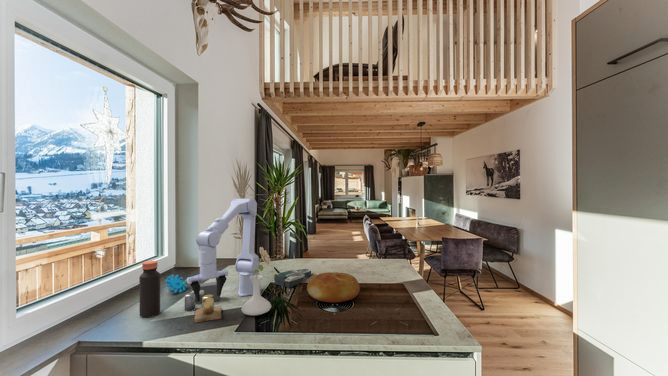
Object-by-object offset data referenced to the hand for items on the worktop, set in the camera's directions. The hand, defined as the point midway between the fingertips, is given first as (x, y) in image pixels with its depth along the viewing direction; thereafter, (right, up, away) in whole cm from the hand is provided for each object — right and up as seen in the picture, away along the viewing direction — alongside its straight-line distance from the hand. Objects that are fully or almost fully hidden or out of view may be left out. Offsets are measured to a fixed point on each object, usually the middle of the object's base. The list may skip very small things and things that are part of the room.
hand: (208, 298), depth 109 cm
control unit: (-7, -7, +14) cm, 17 cm away
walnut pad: (0, -7, 0) cm, 7 cm away
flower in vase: (+18, -7, +4) cm, 19 cm away
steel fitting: (-10, -7, +6) cm, 13 cm away
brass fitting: (0, -5, 0) cm, 5 cm away
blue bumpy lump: (-26, -7, +26) cm, 37 cm away
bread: (+48, -7, +20) cm, 52 cm away
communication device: (+28, -7, +42) cm, 51 cm away
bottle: (-23, -7, +1) cm, 24 cm away
